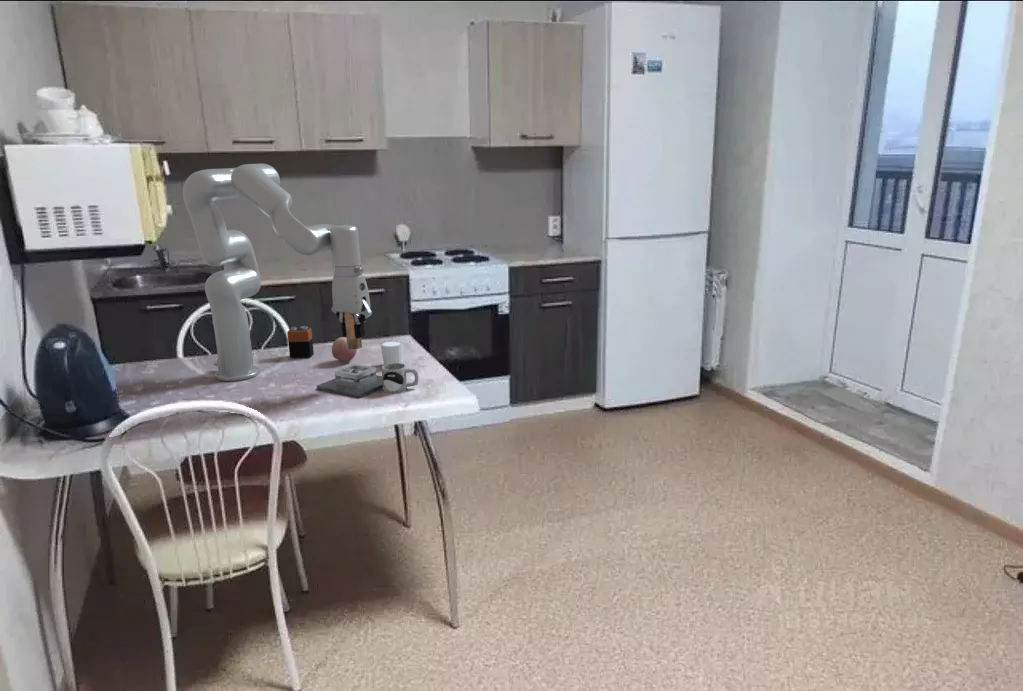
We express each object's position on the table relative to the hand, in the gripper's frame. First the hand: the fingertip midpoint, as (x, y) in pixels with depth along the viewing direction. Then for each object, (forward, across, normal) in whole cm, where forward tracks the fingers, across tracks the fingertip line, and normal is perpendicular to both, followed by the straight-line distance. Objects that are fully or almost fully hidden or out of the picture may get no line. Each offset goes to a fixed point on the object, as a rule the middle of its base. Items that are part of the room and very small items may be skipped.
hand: (353, 335), depth 197 cm
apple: (+15, +20, -16) cm, 29 cm away
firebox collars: (+15, +1, 0) cm, 15 cm away
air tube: (+3, 0, 0) cm, 3 cm away
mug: (+15, -12, -3) cm, 20 cm away
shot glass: (+15, +4, -20) cm, 25 cm away
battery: (+14, +37, -14) cm, 42 cm away
